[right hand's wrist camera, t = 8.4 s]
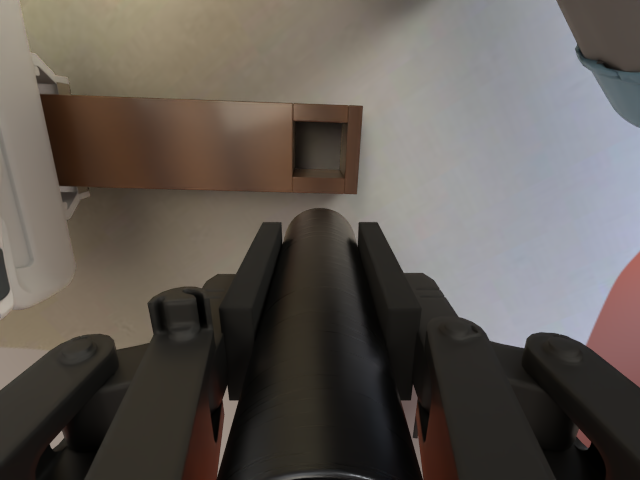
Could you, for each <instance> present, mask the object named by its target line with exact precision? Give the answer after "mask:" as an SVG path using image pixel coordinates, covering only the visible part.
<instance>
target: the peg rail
mask: <svg viewBox="0 0 640 480" xmlns="http://www.w3.org/2000/svg"><path fill="white" fill-rule="evenodd" d="M40 98H41V103H42V108H43V112H44V117H45V122H46V126H47V131H48V136H49V140H50V145H51V150H52V154H53V159H54V164H55V169H56V173H57V178H58V183H59V186H71V187H108V188H145V189H182V190H219V191H256V192H294V193H331V194H357V184H358V170H359V155H360V140H361V126H362V111H363V106H354V105H349V106H348V105H326V104H299V103H294V104H293V103H273V102H246V101H219V100H192V99H164V98H137V97H110V96H83V95H56V94H40ZM295 121H304V122H333V123H342V131H341V150H340V170H327V169H295Z"/></svg>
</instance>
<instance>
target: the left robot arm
mask: <svg viewBox="0 0 640 480" xmlns="http://www.w3.org/2000/svg"><path fill="white" fill-rule="evenodd" d="M40 94H56V95H71V91H70V85H69V79H68V77H65V76H59V75H55V74H54V72H53V71H52V70H51V69H50V68H49V67H48V66H47V65H46V64H45V63H44V62H43V60H42V59H41V58H40V57H39V56H38V55H37V54H36V53H32V52H31V51H30V47H29V42H28V37H27V32H26V28H25V23H24V18H23V14H22V9H21V4H20V0H0V320H1V319H3V318H4V317H5V316H7V315H8V314H9V313H10V312H11V310H22V309H27V308H30V307H32V306H34V305H37V304H39V303H40V302H42V301H44V300H46V299H48V298H50V297H52V296H53V295H55V294H56V293H58V292H60V291H61V290H63V289H64V288H65V287H67V286H68V285H69V284H70V283H71V281H72V279H73V276H74V274H75V271H76V261H75V258H74V253H73V248H72V244H71V239H70V234H69V230H68V225H67V220H69V219H71V217H72V215H73V213H74V211H75V209H76V207H77V206H78V204H79V202H80V201H79V200H81V199H84V198H87V197H90V193H89V188H88V187H71V186H59V183H58V178H57V173H56V169H55V164H54V159H53V154H52V150H51V145H50V140H49V136H48V131H47V126H46V122H45V117H44V112H43V108H42V103H41V98H40Z"/></svg>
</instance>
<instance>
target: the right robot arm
mask: <svg viewBox="0 0 640 480" xmlns="http://www.w3.org/2000/svg"><path fill="white" fill-rule="evenodd" d="M557 3H558V5H559V7H560V9H561V11H562V13H563V15H564V17H565V19H566V21H567V23H568V25H569V27H570V29H571V31H572V34H573V36H574V38H575V40H576V42H577V46H576V48H575V50H576V54H577V57H578V59H579V60H580V62H581V63H582V64H583V66H585V67H586V68H588V69H589V70H591V71H592V73H593V75H594V76H595V78H596V80H597V81H598V83H599V85H600V87H601V88H602V90H603V92H604V93H605V95H606V97H607V99H608V100H609V102H610V104H611V105H612V107H613V109H614V110H615V111H616V112H617V113H618V114H619V115H620V116H621V117H622V118H623V119H625V120H626V121H628V122H629V123H631V124H633V125H635V126H636V127H639V128H640V0H557ZM281 248H282V225H281V222H263V223H262V225H261V227H260V229H259V231H258V233H257V235H256V237H255V238H254V240H253V242H252V244H251V246H250V248H249V250H248V252H247V254H246V256H245V258H244V260H243V262H242V264H241V266H240V268H239V270H238V271H237V273H236V274H217V275H216V276H214V277H213V278H211V279H209V280H208V281H206V283H205V284H204V286H203V287H202V288H198V287H180V288H174V289H170V290H167V291H164V292H162V293H160V294H158V295H156V296H154V297H153V298H152V299H151V300H150V301H149V302H148V308H149V313H150V318H151V323H152V328H153V333H154V335H153V337H152V339H151V341H150V343H147V344H143V345H139V346H134V347H129V348H124V349H119V350H116V347H115V343H114V340H113V339H112V338H111V337H110V336H107V335H103V334H92V335H83V336H81V337H80V336H79V337H75V338H73V339H71V340H69V341H66V342H64V343H62V344H60V345H58V346H57V347H55V348H54V349H52V350H51V351H49V352H48V353H47V354H45V355H44V356H43V357H42V358H40V359H39V360H38V361H37V362H35V363H34V364H33V365H32V366H30V367H29V368H28V369H27V370H25V371H24V372H23V373H22V374H20V375H19V376H18V377H17V378H15V379H14V380H13V381H12V382H10V383H9V384H8V385H7V386H5V387H4V388H3V389H2V390H0V480H217V472H218V463H219V455H220V447H221V438H222V430H223V422H224V408H223V401H222V399H223V396H224V393H225V390H226V387H227V385H228V393H229V400H239V398H240V394H241V391H242V387H243V384H244V380H245V376H246V373H247V369H248V366H249V362H250V359H251V355H252V351H253V348H254V344H255V341H256V337H257V334H258V330H259V326H260V323H261V319H262V316H263V312H264V309H265V305H266V301H267V298H268V294H269V291H270V287H271V284H272V280H273V276H274V273H275V269H276V266H277V262H278V259H279V255H280V251H281ZM358 250H359V254H360V257H361V261H362V264H363V268H364V271H365V275H366V279H367V282H368V286H369V289H370V293H371V296H372V300H373V304H374V307H375V311H376V314H377V318H378V321H379V325H380V328H381V332H382V336H383V339H384V343H385V346H386V350H387V353H388V357H389V361H390V364H391V368H392V371H393V375H394V378H395V382H396V385H397V389H398V393H399V396H400V400H411V395H412V386H413V385H414V388H415V391H416V394H417V397H418V401H417V408H416V416H415V424H414V432H413V438H418V437H419V445H420V454H421V463H422V471H423V479H424V480H640V388H639V387H638V386H637V385H636V384H634V383H633V382H632V381H631V380H629V379H628V378H627V377H625V376H624V375H623V374H622V373H620V372H619V371H618V370H617V369H615V368H614V367H613V366H612V365H610V364H609V363H608V362H606V361H605V360H604V359H603V358H601V357H600V356H599V355H598V354H596V353H595V352H594V351H593V350H591V349H590V348H588V347H587V346H585V345H583V344H582V343H580V342H578V341H576V340H573V339H571V338H569V337H567V336H564V335H559V334H556V333H543V332H540V333H535V334H531V335H530V336H529V337H528V338H527V340H526V344H525V348H520V347H514V346H509V345H504V344H499V343H495V342H492V341H489V339H488V337H487V335H486V333H485V332H484V331H483V329H482V328H481V327H479V326H478V325H476V324H475V323H473V322H471V321H469V320H466V319H463V318H460V317H458V315H457V314H456V312H455V311H454V309H453V308H452V306H451V305H450V303H449V302H448V301H447V299H446V298H445V297H444V295H443V293H442V292H441V290H439V287H438V286H437V284H436V283H435V281H434V280H433V279H431V278H430V277H428V276H426V275H425V274H423V273H403V271H402V269H401V267H400V265H399V263H398V261H397V259H396V257H395V255H394V254H393V252H392V250H391V248H390V246H389V244H388V242H387V240H386V238H385V236H384V234H383V232H382V230H381V228H380V226H379V224H378V223H377V222H359V230H358ZM579 429H580V430H581V431H582V432H583V433H584V434H585V435H586V436H587V438H588V439H589V440H590V441H591V445H590V447H589V448H587V447H586V446H585V445H584V444H583V443H582V442H581V441H580V440H579V439H578V438H577V437H576V435H577V433H578V430H579ZM61 431H62V432H63V435H64V439H63V440H62V441H61V442H60V443H59V445H57V446H56V447H55V448H54V449H52V448H51V447H50V443H51V442H52V440H53V439H54V438H55V437H56V436H57V435H58V434H59V433H60V432H61Z"/></svg>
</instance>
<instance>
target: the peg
mask: <svg viewBox="0 0 640 480" xmlns="http://www.w3.org/2000/svg"><path fill="white" fill-rule="evenodd" d="M217 480H423V478H422V475H421V471H420V467H419V464H418V460H417V457H416V453H415V450H414V446H413V443H412V439H411V435H410V432H409V428H408V425H407V421H406V418H405V414H404V410H403V407H402V403H401V400H400V396H399V393H398V389H397V385H396V382H395V378H394V375H393V371H392V368H391V364H390V361H389V357H388V353H387V350H386V346H385V343H384V339H383V336H382V332H381V328H380V325H379V321H378V318H377V314H376V311H375V307H374V304H373V300H372V296H371V293H370V289H369V286H368V282H367V279H366V275H365V271H364V268H363V264H362V261H361V257H360V254H359V250H358V247H357V243H356V239H355V236H354V232H353V229H352V227H351V225H350V224H349V222H348V221H347V220H346V219H345V218H344V217H343V216H342V215H340V214H339V213H337V212H335V211H333V210H330V209H325V208H314V209H310V210H307V211H304V212H302V213H301V214H299V215H298V216H296V217H295V218H294V219H293V220H292V221H291V223H290V224H289V226H288V228H287V230H286V234H285V237H284V241H283V244H282V248H281V251H280V255H279V259H278V262H277V266H276V269H275V273H274V276H273V280H272V284H271V287H270V291H269V294H268V298H267V301H266V305H265V309H264V312H263V316H262V319H261V323H260V326H259V330H258V334H257V337H256V341H255V344H254V348H253V351H252V355H251V359H250V362H249V366H248V369H247V373H246V376H245V380H244V384H243V387H242V391H241V394H240V398H239V401H238V405H237V409H236V412H235V416H234V419H233V423H232V426H231V430H230V434H229V437H228V441H227V444H226V448H225V451H224V455H223V459H222V462H221V466H220V469H219V473H218V476H217Z"/></svg>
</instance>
